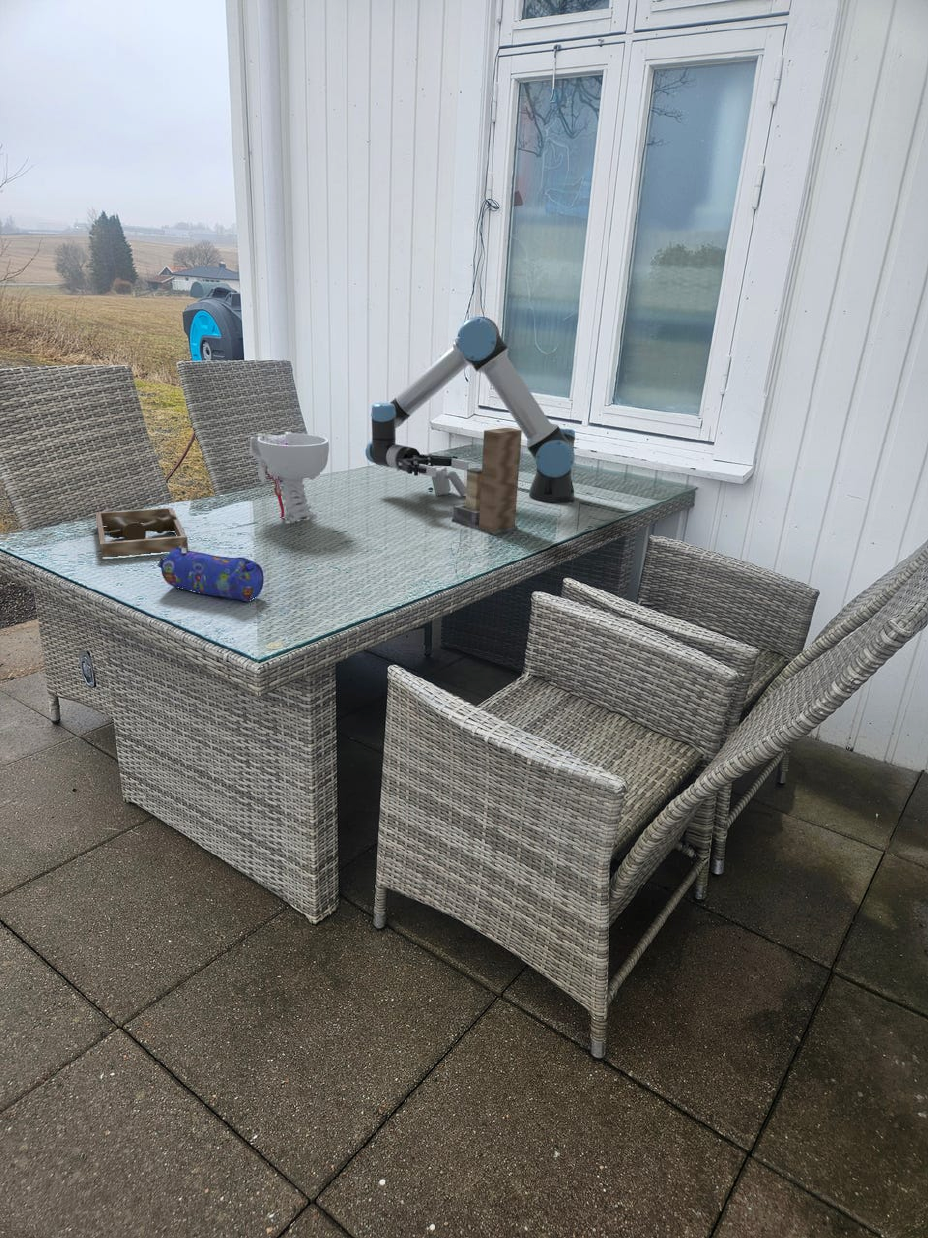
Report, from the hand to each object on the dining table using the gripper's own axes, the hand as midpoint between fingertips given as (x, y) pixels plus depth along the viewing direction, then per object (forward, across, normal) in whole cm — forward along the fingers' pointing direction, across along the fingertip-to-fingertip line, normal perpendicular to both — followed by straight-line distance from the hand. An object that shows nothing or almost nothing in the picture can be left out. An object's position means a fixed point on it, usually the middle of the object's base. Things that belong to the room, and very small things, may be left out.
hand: (451, 469), depth 230 cm
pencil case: (+15, +87, -13) cm, 89 cm away
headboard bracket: (+14, 0, -14) cm, 20 cm away
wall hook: (-18, -18, -14) cm, 29 cm away
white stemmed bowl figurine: (-25, +40, -13) cm, 49 cm away
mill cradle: (-31, +82, -12) cm, 88 cm away
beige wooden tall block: (+10, 0, -13) cm, 16 cm away
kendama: (-31, +82, -12) cm, 89 cm away
